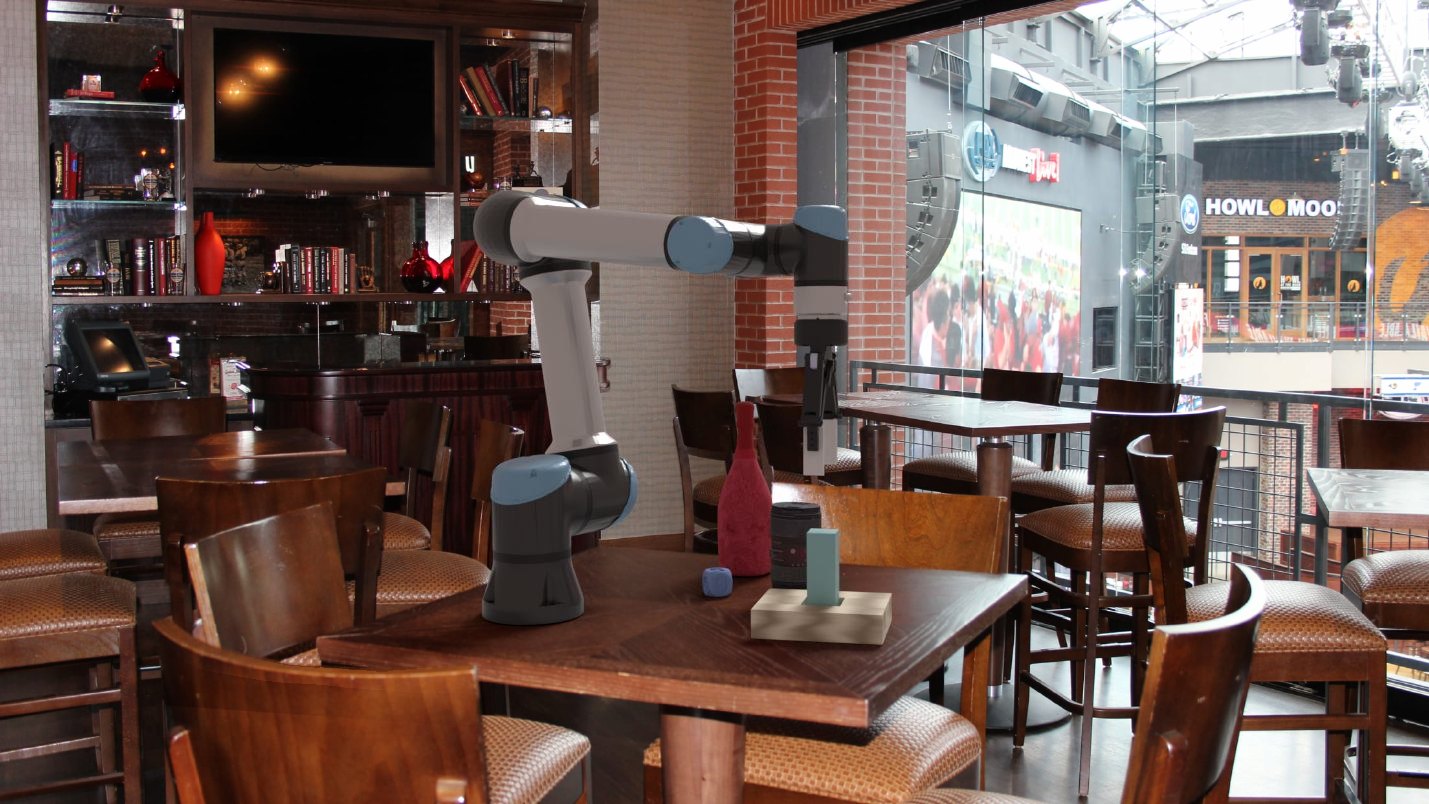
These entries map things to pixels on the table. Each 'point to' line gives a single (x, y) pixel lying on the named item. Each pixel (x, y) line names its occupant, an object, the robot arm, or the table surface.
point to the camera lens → (791, 542)
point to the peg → (823, 567)
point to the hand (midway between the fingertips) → (821, 469)
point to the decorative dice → (717, 582)
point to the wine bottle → (745, 506)
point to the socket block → (822, 617)
